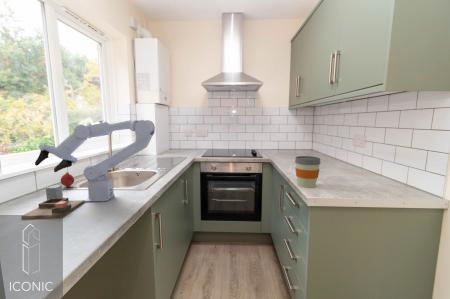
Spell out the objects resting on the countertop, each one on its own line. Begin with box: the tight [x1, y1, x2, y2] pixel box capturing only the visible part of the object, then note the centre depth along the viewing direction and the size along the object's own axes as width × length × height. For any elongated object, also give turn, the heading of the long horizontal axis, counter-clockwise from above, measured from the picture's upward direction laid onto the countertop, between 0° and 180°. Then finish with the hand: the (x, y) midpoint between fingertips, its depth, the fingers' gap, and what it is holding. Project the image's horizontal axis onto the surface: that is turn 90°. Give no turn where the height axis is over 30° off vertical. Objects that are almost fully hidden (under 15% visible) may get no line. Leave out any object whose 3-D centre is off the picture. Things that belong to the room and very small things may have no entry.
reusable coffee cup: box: [294, 155, 321, 189], centre depth 120 cm, size 13×12×15 cm
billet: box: [45, 184, 64, 200], centre depth 98 cm, size 4×4×6 cm
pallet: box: [20, 197, 86, 220], centre depth 87 cm, size 14×15×3 cm
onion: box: [60, 171, 75, 188], centre depth 117 cm, size 6×6×8 cm
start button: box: [55, 201, 67, 208], centre depth 84 cm, size 3×3×2 cm
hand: (45, 167), depth 96 cm, fingers open, 7 cm apart
